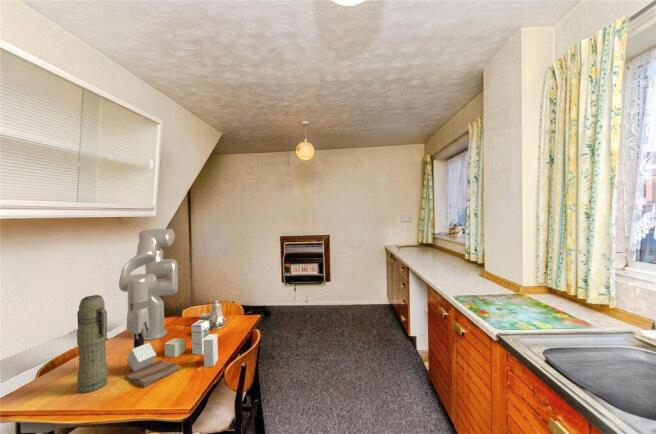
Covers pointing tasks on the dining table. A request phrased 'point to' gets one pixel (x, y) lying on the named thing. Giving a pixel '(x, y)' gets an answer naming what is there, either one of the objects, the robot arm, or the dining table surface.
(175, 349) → the sage block
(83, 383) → the thermos
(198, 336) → the syrup box
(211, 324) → the chinaware
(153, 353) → the light grey block
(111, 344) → the dining table surface
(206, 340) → the skincare box
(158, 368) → the walnut steps
